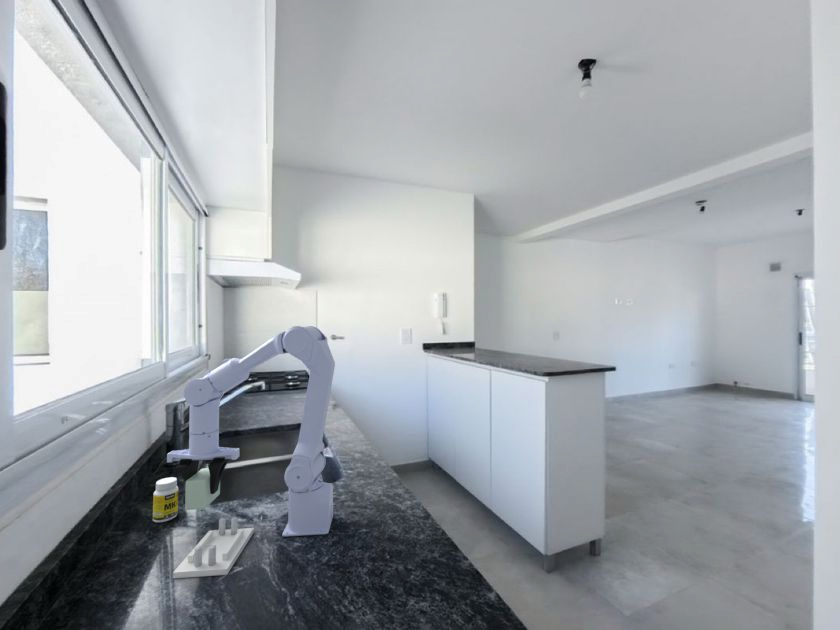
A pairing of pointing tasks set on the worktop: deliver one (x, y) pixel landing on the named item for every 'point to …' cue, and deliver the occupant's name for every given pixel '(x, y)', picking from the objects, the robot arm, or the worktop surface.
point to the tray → (215, 551)
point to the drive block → (199, 491)
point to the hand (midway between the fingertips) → (203, 492)
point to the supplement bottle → (165, 500)
